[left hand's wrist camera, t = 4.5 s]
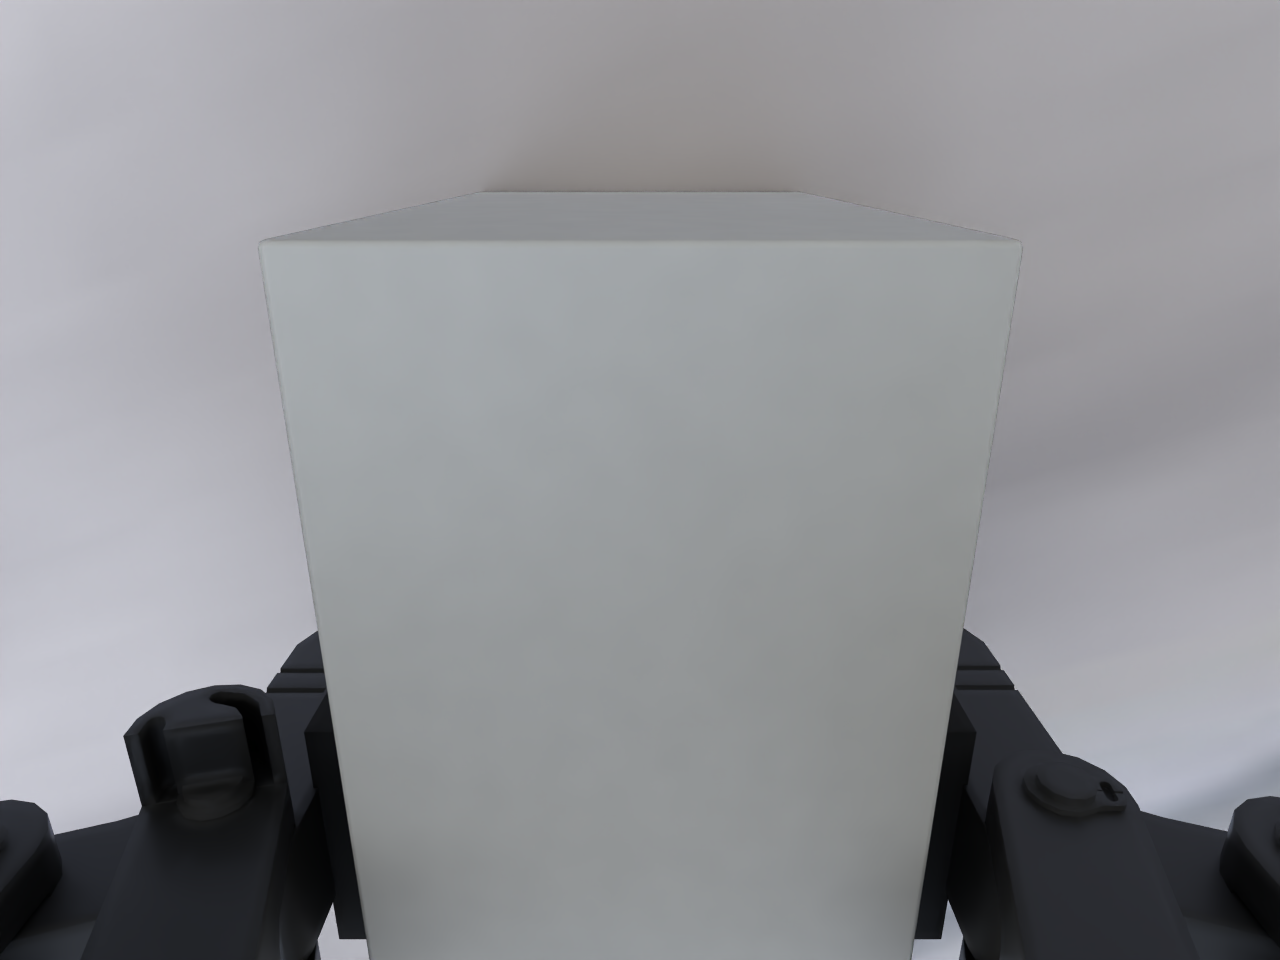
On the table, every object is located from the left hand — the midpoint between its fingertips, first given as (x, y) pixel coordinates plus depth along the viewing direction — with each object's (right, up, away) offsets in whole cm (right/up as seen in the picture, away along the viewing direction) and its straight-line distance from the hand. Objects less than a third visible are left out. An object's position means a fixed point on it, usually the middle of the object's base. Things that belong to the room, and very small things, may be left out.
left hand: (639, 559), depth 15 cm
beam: (0, -20, +8) cm, 21 cm away
